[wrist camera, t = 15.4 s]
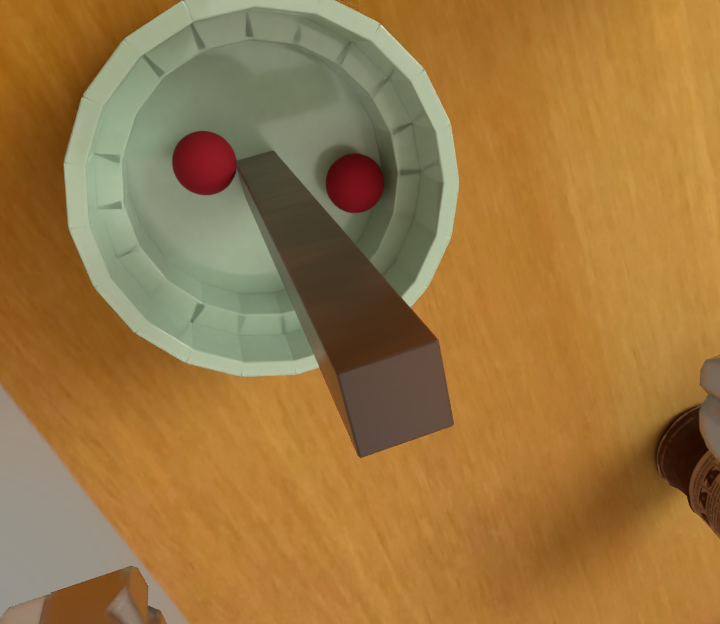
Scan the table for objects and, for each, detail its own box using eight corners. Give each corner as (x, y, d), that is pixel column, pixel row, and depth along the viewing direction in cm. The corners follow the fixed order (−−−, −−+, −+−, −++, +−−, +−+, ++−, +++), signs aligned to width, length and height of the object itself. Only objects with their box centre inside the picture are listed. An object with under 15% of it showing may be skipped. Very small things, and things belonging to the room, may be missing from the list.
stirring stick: (246, 199, 29) (359, 459, 11) (234, 160, 28) (335, 372, 10) (284, 189, 29) (455, 426, 11) (273, 149, 28) (439, 339, 11)
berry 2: (396, 160, 29) (359, 188, 31) (353, 131, 28) (316, 162, 29) (395, 206, 28) (356, 232, 30) (349, 177, 26) (311, 207, 28)
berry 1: (165, 156, 28) (167, 203, 26) (177, 111, 26) (181, 160, 24) (224, 166, 29) (229, 211, 28) (241, 123, 27) (247, 171, 26)
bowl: (155, 356, 31) (151, 422, 26) (27, 42, 25) (-13, 44, 20) (431, 271, 33) (479, 316, 28) (376, -38, 27) (425, -56, 22)
